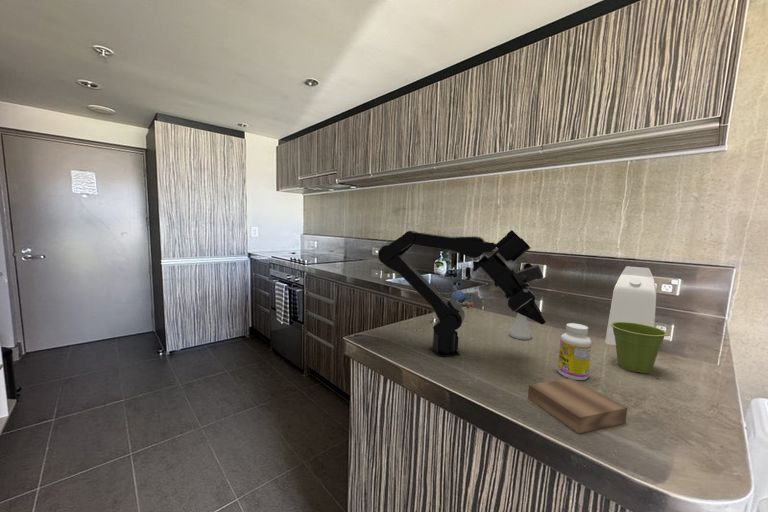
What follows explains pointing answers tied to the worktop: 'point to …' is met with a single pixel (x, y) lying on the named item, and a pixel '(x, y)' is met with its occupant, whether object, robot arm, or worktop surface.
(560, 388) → the walnut base block
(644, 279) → the milk
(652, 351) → the plant pot
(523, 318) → the flask
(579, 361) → the supplement bottle
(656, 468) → the worktop surface
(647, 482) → the worktop surface
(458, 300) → the model
